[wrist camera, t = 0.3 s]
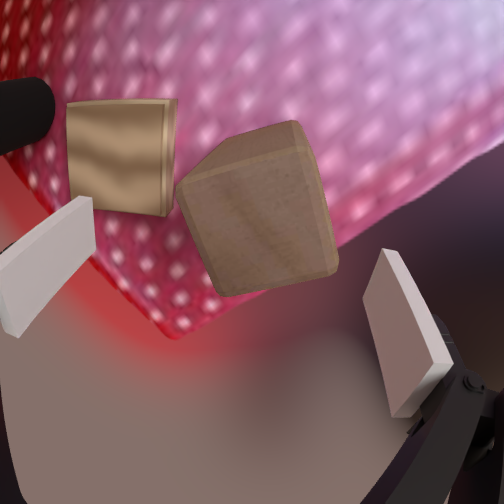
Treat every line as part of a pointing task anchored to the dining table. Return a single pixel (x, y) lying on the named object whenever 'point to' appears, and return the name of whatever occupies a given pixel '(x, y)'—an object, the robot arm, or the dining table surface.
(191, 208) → the wooden block
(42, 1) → the dining table surface
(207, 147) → the dining table surface
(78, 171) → the plinth
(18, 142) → the coffee jar
